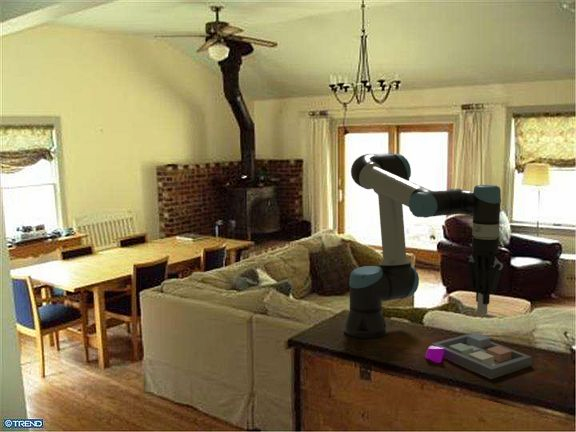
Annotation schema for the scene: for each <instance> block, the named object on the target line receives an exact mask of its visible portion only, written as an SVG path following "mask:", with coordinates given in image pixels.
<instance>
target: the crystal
mask: <svg viewBox="0 0 576 432" xmlns="http://www.w3.org/2000/svg"><path fill="white" fill-rule="evenodd" d="M444 350H445V348H441V347H438V346H431V345H430V346H428V348H427V351H426V353H425V357H424V358H425V359H427V360H429V359H430V361H432V362H434V363H438V364H439V363H442V360H443V353H444Z"/></svg>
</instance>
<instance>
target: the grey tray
mask: <svg viewBox="0 0 576 432" xmlns="http://www.w3.org/2000/svg"><path fill="white" fill-rule="evenodd" d="M472 334H473V333H467V334H463V335H459V336H456V337H455V336H454V337H451V338H448V339H445V340H439V341H436V342H433V343H431V344H430V346H438V347H441V348H445V350H444V353H443V357H442V359H445V360H447V359H448V360H447V361H449V360H450V362H451V361H452V363H454V364H456V365H458V366H461V367H462V368H465V369H467V370H469V371H472V372H474V373H476V374H479V375H481V376H483V377H485V378H487V379H489V380H493V379H496V378H499V377H502V376H505V375H509V374H512V373H515V372H517V371H520V370H524V369H528V368H529V367H532V364H533V363H532V361H533V360H532V359H533V357H532V356H531V355H528V354H525V353H523V352H520V351H517V350H515V349H512V348H510V347H507V346H504V345H502V344H499V343H496V342H493V341H491V345H489V346H486V347H482V348H477V347H475V346H472V345H470V344H467V336H469V335H472ZM458 343H462V344H465V345H467V346H470V347H472V348H473V353H474V352H478V351H482V352H485V353H486V351H487V349H488V348H492V347H495V346H499V347H502V348H505V349H507V350H510V351H512V353H511V359H509V360H506V361H502V362H498V361H496V360H494V364H493V365H486V364H484V363H482V362H479V361H477V360H475V359H472V358H470V357H468V356H465V355H463V354H461V353H458V352H456V351H453V350H451V349H449V346H451V345H455V344H458Z"/></svg>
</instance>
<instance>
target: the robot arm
mask: <svg viewBox="0 0 576 432" xmlns="http://www.w3.org/2000/svg"><path fill="white" fill-rule="evenodd" d="M350 175H351V178H352V180H353V182H355V184H356V185H358V186H359V187H361V188H363V189H365V190H373V192H374V193H376V195H377V196H378V210H379V221H380V222H379V224H380V235H381V237H380V238H381V249H382V260H381V261H380V262H379V264H378V266H376V265H365V266H361V267H360V266H359V267H357V268H354V269H353V270H352V271H351V273H350V275H349V283H348V285H349V311H348V314H347V317H346V322H345V324H344V333H345V334H347V335H348V336H351V337H354V338H359V339H377V338H381V337H384V336H385V335H386V334H387V331H388V330H387V329H388V328H387V324H386V322H385V321H386V320H385V317H384V315H383V302H387V301H394V300H398V299H401V300H403V299H405V298H410V297H412V296H413V295H415V293H416V291H417V290H418V288H419V284H420V278H419V273H418V271H417V269H416V268H415V267H414V266H413V265H412V263H411V260H409V259H408V258H407V248H406V237H405V236H406V235H405V222H404V220H405V219H404V211H403V210H404V209H403V208H404V207H403V205H404V206H406V207H408V209H409V211H410V212H411V214H412V215H413V216H414V217H416V218H431V217H432V218H433V217H441V216H450V215H451V216H452V215H465V216H466V215H467V216H472V234H471V235H472V236H473V237H472V238H471V249H472V252H471V255H469V256H465V258H464V259H465V262H466V264H467V271H468V278H469V284H470V288H471V289H472V290H474V291H475V293H476V294H475V302H476V303H477V307H476V314H477V315H480V316H483V315H487V314H488V307H489V306H488V305H489V304H490V298H491V294H494V293H496V292H497V288H498V286H499V282H500V277H501V274H502V271H503V269H505V263H504V262H501V261H499V256H498V252H499V244H500V243H499V241H500V239H498V237H500V217H501V203H502V198H501V197H502V193H501V187H500V186H498V185H495V184H494V185H493V184H477V185H475V186H474V188H473V190H467V189H461V188H449V189H447V190H431V189H428V188H426V187H424V186H421V185H418V184H417V183H415V182H412V181H410V178H411V176H412V168H411V164H410V163H409V161H408V158H406V157H405V156H404V155H402V154H400V153H392V152H391V153H366V154H362V155H360V156H359V157H356V159H355V160H354V161H353V163H352V165H351V168H350Z"/></svg>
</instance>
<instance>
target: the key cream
mask: <svg viewBox="0 0 576 432" xmlns="http://www.w3.org/2000/svg"><path fill="white" fill-rule="evenodd" d="M469 357H470V358H472V359H475V360H477V361H479V362H482V363H484V364H486V365H493V364H494V356H492V355H490V354H487V353H485V352H482V351H478V352H474V353H471V354H469Z"/></svg>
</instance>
